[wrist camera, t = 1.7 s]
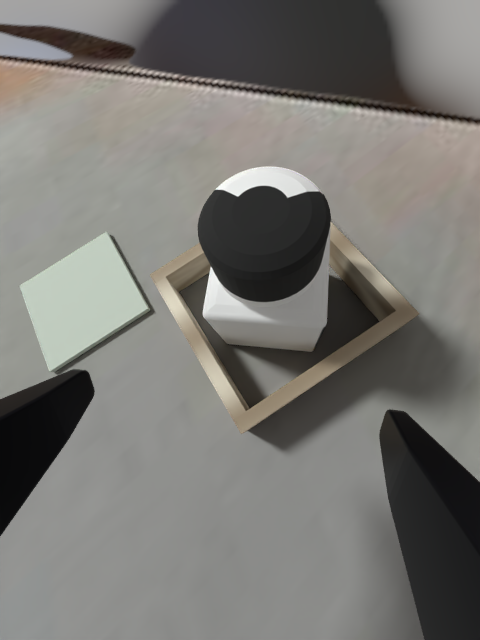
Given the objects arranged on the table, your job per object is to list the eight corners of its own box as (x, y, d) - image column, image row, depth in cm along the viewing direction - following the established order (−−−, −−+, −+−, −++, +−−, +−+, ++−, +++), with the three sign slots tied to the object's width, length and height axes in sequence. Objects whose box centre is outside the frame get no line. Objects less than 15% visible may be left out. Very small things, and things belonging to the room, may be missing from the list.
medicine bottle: (314, 353, 22) (346, 290, 10) (225, 344, 23) (166, 280, 12) (318, 270, 24) (348, 141, 12) (236, 266, 25) (195, 148, 14)
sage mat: (150, 310, 25) (148, 308, 24) (54, 372, 24) (49, 371, 24) (109, 234, 28) (106, 231, 28) (24, 287, 28) (19, 285, 27)
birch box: (401, 326, 21) (419, 313, 18) (247, 430, 21) (241, 434, 18) (292, 207, 26) (293, 183, 23) (164, 289, 25) (149, 274, 22)
